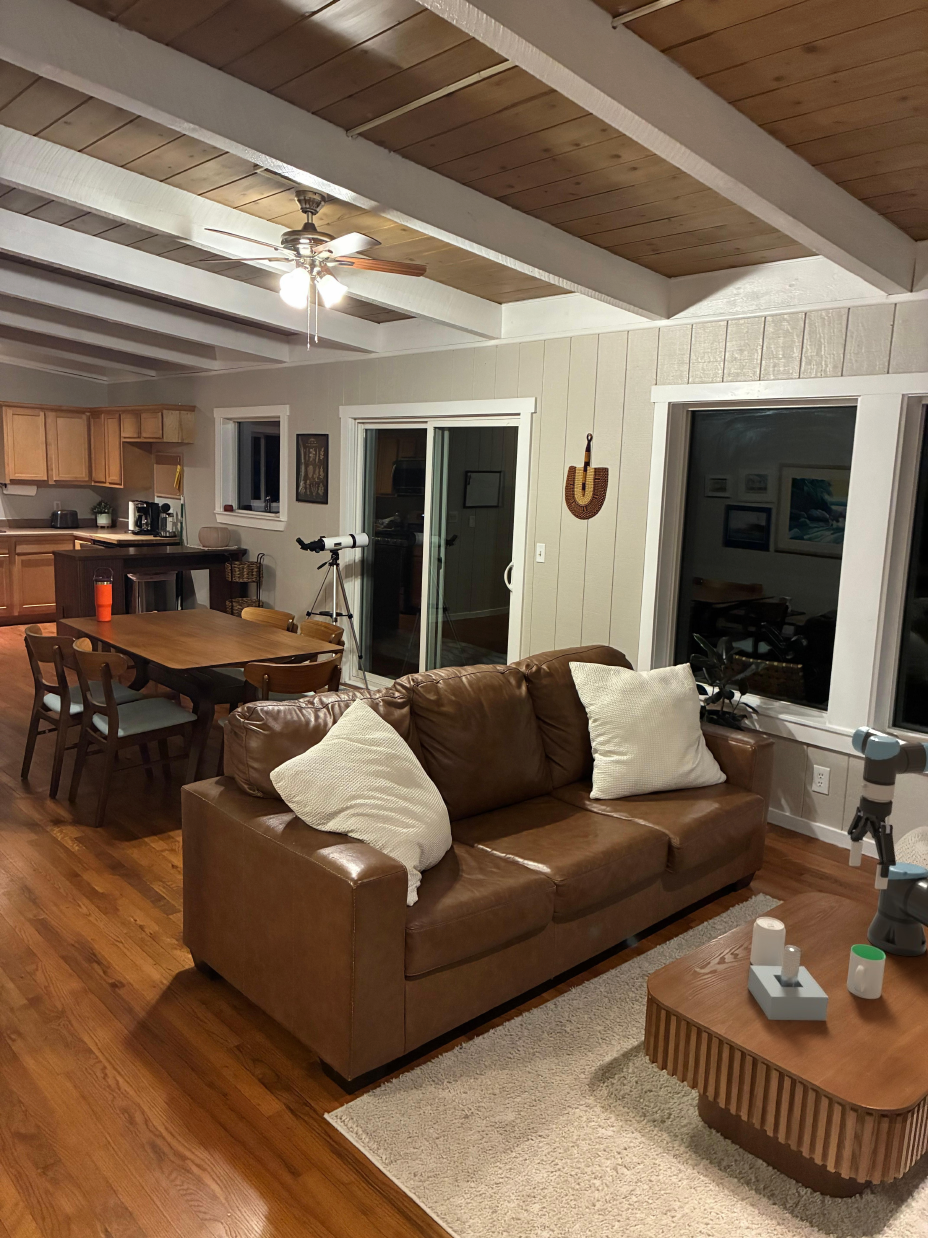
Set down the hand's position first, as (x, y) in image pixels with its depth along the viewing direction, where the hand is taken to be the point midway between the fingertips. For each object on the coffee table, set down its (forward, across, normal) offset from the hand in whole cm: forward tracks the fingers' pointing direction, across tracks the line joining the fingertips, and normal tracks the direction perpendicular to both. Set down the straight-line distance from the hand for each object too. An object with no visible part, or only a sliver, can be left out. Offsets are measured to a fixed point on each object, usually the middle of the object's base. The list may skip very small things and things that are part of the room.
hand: (867, 876), depth 233 cm
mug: (+29, +6, -1) cm, 30 cm away
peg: (+28, +11, -23) cm, 38 cm away
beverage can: (+29, -7, -21) cm, 36 cm away
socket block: (+29, +11, -23) cm, 38 cm away
